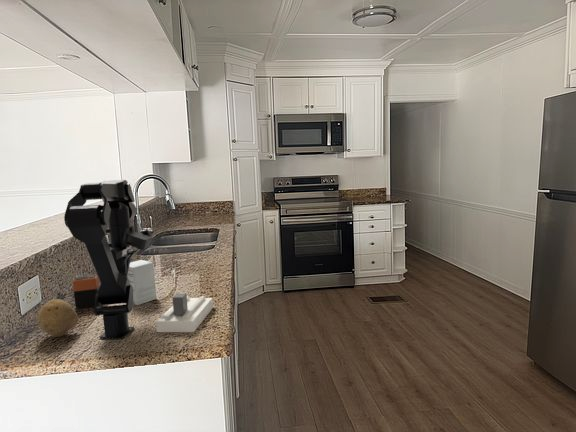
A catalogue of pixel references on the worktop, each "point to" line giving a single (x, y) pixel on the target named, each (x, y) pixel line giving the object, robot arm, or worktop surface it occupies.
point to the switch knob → (180, 304)
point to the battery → (85, 290)
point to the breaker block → (185, 316)
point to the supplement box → (142, 281)
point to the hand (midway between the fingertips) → (124, 277)
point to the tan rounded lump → (57, 317)
